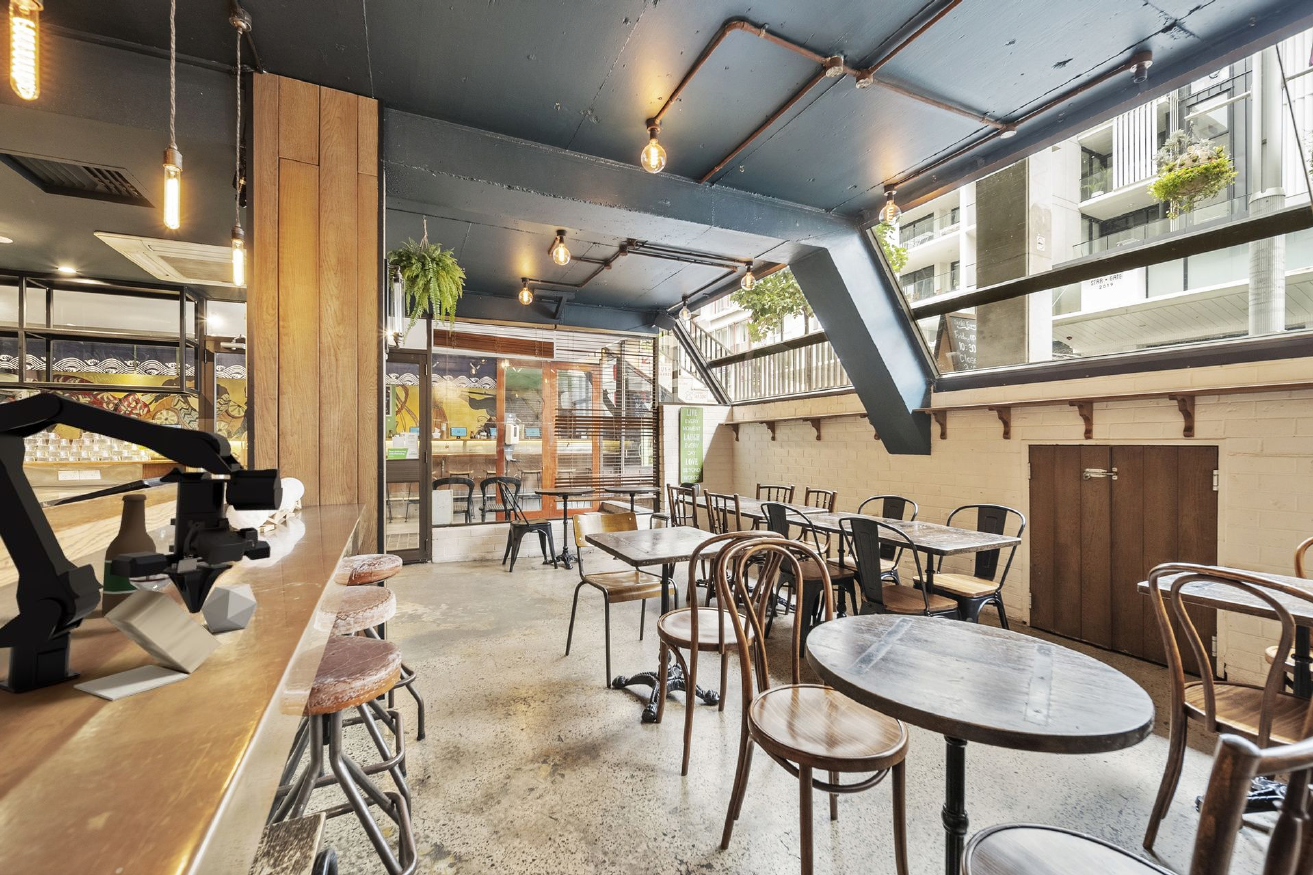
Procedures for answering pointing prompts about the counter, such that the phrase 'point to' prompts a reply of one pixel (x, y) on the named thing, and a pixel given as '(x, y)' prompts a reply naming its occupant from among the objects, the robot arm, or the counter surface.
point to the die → (229, 607)
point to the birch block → (163, 629)
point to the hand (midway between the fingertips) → (194, 612)
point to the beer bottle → (125, 550)
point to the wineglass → (151, 582)
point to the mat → (130, 682)
